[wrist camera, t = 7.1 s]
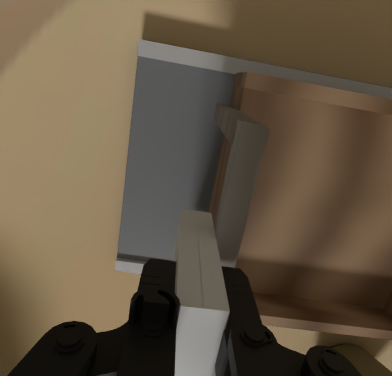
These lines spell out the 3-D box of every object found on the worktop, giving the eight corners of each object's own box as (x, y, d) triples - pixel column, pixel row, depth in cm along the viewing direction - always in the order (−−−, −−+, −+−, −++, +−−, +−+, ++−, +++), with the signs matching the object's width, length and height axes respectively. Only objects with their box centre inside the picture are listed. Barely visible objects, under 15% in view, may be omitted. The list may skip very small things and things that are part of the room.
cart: (182, 267, 26) (179, 406, 15) (219, 70, 21) (255, 62, 10) (367, 292, 28) (488, 434, 17) (444, 113, 23) (695, 147, 11)
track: (118, 261, 27) (115, 270, 26) (141, 41, 21) (138, 39, 20) (502, 311, 31) (517, 322, 29) (614, 132, 25) (638, 135, 23)
